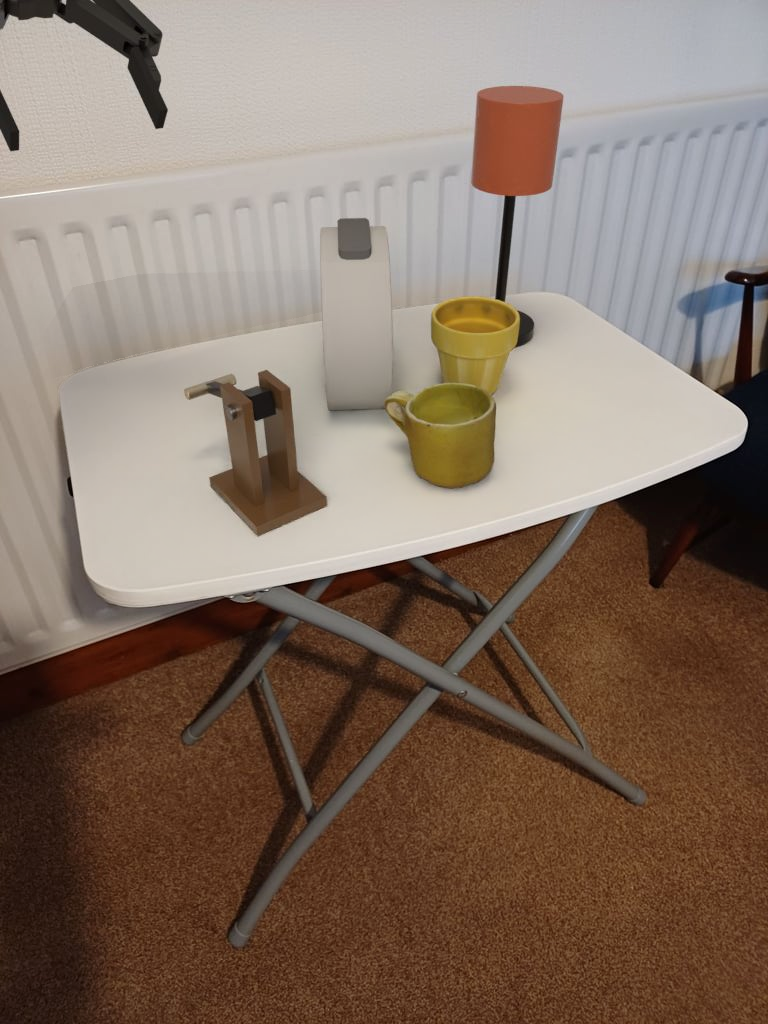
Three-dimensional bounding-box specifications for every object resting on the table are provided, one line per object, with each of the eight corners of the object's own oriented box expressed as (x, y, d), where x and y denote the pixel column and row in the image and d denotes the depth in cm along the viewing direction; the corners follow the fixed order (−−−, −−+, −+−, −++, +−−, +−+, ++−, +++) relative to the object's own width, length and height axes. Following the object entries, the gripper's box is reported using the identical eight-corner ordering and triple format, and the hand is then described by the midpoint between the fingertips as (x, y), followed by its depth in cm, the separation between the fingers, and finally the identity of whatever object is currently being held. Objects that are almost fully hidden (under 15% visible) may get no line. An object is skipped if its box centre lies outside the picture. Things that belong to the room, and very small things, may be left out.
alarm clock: (328, 344, 107) (320, 194, 95) (382, 343, 107) (382, 193, 95) (327, 428, 90) (318, 260, 78) (392, 426, 91) (393, 258, 78)
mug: (530, 449, 84) (505, 375, 77) (470, 514, 80) (440, 442, 74) (447, 424, 92) (419, 355, 86) (390, 481, 88) (356, 414, 82)
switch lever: (187, 404, 82) (180, 382, 81) (234, 388, 84) (228, 367, 83) (240, 427, 72) (233, 402, 71) (291, 408, 74) (286, 384, 73)
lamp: (466, 349, 106) (484, 104, 87) (456, 317, 114) (471, 86, 95) (539, 347, 106) (573, 103, 88) (525, 316, 114) (552, 85, 95)
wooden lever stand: (210, 486, 82) (191, 377, 74) (276, 460, 85) (265, 354, 77) (257, 536, 76) (242, 423, 68) (327, 506, 79) (320, 395, 71)
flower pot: (455, 416, 93) (461, 340, 86) (413, 378, 100) (415, 305, 94) (528, 396, 96) (538, 321, 90) (482, 360, 103) (489, 289, 97)
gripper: (120, -53, 80) (207, 135, 80) (-153, -42, 69) (-52, 177, 69) (130, -120, 74) (225, 85, 73) (-171, -120, 62) (-59, 123, 62)
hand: (91, 130), depth 71 cm, fingers open, 13 cm apart
